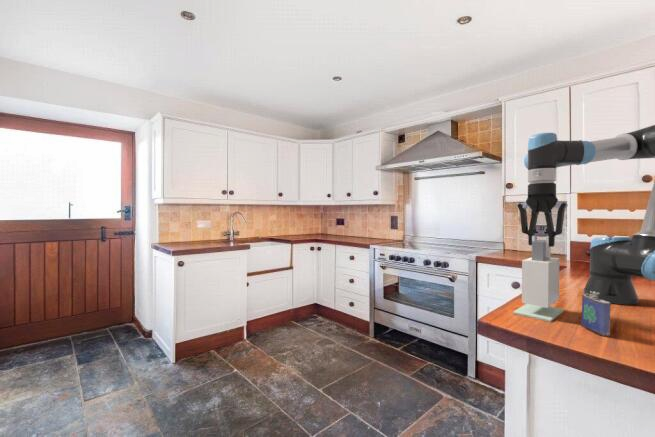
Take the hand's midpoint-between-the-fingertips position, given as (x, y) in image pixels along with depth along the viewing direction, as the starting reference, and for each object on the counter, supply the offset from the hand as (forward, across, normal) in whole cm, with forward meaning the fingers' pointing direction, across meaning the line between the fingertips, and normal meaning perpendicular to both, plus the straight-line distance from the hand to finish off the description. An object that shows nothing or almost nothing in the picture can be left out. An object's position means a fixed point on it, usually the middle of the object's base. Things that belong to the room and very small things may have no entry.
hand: (541, 256), depth 101 cm
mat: (+18, 0, 0) cm, 18 cm away
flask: (+18, +14, -7) cm, 24 cm away
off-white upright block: (+15, 0, 0) cm, 15 cm away
